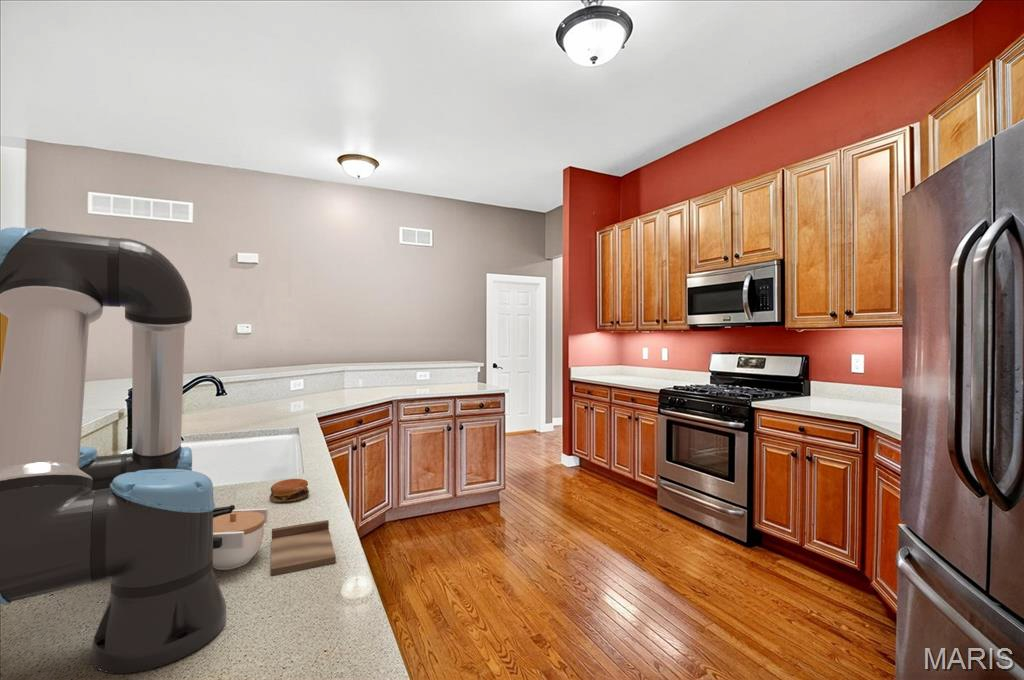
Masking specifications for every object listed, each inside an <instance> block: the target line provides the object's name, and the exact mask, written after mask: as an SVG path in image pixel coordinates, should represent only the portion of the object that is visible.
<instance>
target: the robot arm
mask: <svg viewBox="0 0 1024 680" xmlns="http://www.w3.org/2000/svg"><path fill="white" fill-rule="evenodd" d="M104 307H113V308H114V307H117V308H120V307H123V308H124V319H125V320H126V322H129V324H131V325H132V326H131V327H132V335H131V336H132V337H131V338H132V341H131V342H132V343H131V344H132V345H131V346H132V349H131V350H132V359H131V360H132V363H131V364H132V366H131V368H132V375H131V376H132V377H131V379H132V388H131V391H132V392H131V393H132V394H131V395H132V397H131V400H132V401H131V402H132V403H131V404H132V407H131V408H132V409H131V410H132V412H131V414H132V417H131V419H132V422H131V423H132V424H131V426H132V429H131V431H132V432H131V436H132V437H131V442H132V443H131V444H132V445H131V448H132V449H131V450H132V452H129V453H121V454H119V453H118V454H111V455H101V456H100V455H99V453H98V450H97V448H95V447H93V446H81V444H82V443H81V440H82V431H83V430H82V428H83V413H84V401H85V400H84V399H85V386H86V384H85V383H86V373H87V357H88V355H87V354H88V342H89V328H90V324H93V323H94V322H96V321H97V320H99V319H100V318H101V317H102V315H103V310H104ZM0 314H2V315H4V316H5V317H6V318H8V319H7V320H8V321H7V326H6V332H5V340H4V347H3V354H2V359H1V368H0V605H3V606H7V605H10V604H12V602H16V601H18V600H23V599H27V598H32V597H36V596H40V595H45V594H49V593H53V592H58V591H61V590H66V589H70V588H75V587H79V586H83V585H87V584H91V583H96V582H99V581H104V580H107V579H110V593H109V594H110V595H109V599H108V601H107V604H106V606H105V609H104V612H103V614H102V617H101V619H100V621H99V624H98V626H97V629H96V631H95V634H94V637H93V639H92V644H91V645H92V646H91V647H92V649H91V652H92V654H91V661H92V664H94V665H93V666H94V667H95V666H96V667H97V668H99V669H101V670H103V671H102V672H104V671H107V672H106V673H108V672H112V673H111V674H131V673H138V672H137V671H139V672H142V671H141V670H144V671H147V670H146V669H148V670H151V669H150V668H152V669H155V667H156V668H159V667H162V666H165V665H169V664H171V663H174V662H176V661H178V660H180V659H182V658H184V657H187V656H189V655H191V654H193V653H194V652H196V651H198V650H200V649H201V648H203V647H204V646H205V645H207V644H208V643H210V642H211V641H212V640H213V639H214V638H215V637H217V635H218V634H219V633H220V632H221V631H222V629H223V628H224V626H225V624H226V621H227V603H226V599H225V597H224V594H223V592H222V590H221V587H220V584H219V582H218V580H217V577H216V575H215V572H214V567H213V550H217V549H235V548H243V547H244V531H240V532H221V533H213V518H215V517H217V516H221V515H225V514H229V513H232V512H258V513H261V514H263V515H264V516H265V523H264V524H267V522H268V513H269V512H268V511H269V510H268V509H269V508H268V507H266V508H265V507H263V508H246V509H245V508H242V509H236V506H235V504H230V505H228V506H221V507H216V502H215V501H214V498H215V497H214V484H213V481H212V480H211V478H210V477H209V476H207V475H206V474H204V473H202V472H199V471H194V470H193V451H192V448H190V447H189V446H182V427H183V426H182V425H183V424H182V423H183V421H182V419H183V393H184V392H183V391H184V390H183V389H184V388H183V387H184V363H185V362H184V359H185V335H186V334H185V331H186V328H185V327H186V326H187V325H188V324H190V323H191V322H192V319H193V317H192V316H193V305H192V298H191V294H190V291H189V288H188V287H187V284H186V281H185V280H184V278H183V276H182V274H181V273H180V272H179V270H178V269H177V268H176V266H175V265H174V264H173V263H172V262H171V261H170V260H169V258H167V257H166V256H165V255H163V254H162V253H161V252H160V251H159V250H157V249H155V248H154V247H152V246H150V245H148V244H146V243H145V242H142V241H138V240H136V239H132V238H125V237H123V238H122V237H119V238H118V237H110V236H103V235H101V236H100V235H95V234H94V235H93V234H84V233H83V234H82V233H74V232H73V233H72V232H68V231H67V232H65V231H56V230H48V229H46V228H42V227H33V228H32V227H31V228H30V227H29V228H28V227H18V226H15V227H14V226H12V227H11V226H10V227H5V228H2V229H0ZM158 666H159V667H158ZM96 667H95V668H96ZM97 668H96V669H97ZM99 669H98V670H99ZM101 670H100V671H101Z"/></svg>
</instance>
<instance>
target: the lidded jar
mask: <svg viewBox="0 0 1024 680" xmlns="http://www.w3.org/2000/svg"><path fill="white" fill-rule="evenodd" d="M265 524H266V523H265V516H264V515H263V514H261V513H258V512H232V513H229V514H225V515H221V516H217V517H215V518H213V533H221V532H240V531H244V547H243V548H235V549H217V550H213V569H215V570H218V571H230V570H234V569H238V568H241V567H243V566H246V564H248V563H250V562H251V560H252V558H253V557H254V556H255V555H256V553H257V552H258V551H259V549H260V547H261V545H262V543H263V539H264V534H265V532H264V531H265Z"/></svg>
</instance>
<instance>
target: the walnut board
mask: <svg viewBox="0 0 1024 680" xmlns="http://www.w3.org/2000/svg"><path fill="white" fill-rule="evenodd" d="M329 523H330V521H329V520H328V519H327V520H320V521H314V522H313V521H312V522H308V523H300V524H294V525H287V526H281V527H276V528H271V545H270V546H271V548H270V550H271V551H270V552H271V553H270V576H271V577H273V576H277V575H282V574H286V573H291V572H296V571H302V570H307V569H312V568H316V567H317V566H318V567H321V566H322V565H323V566H326V565H325V564H328V565H331V564H330V563H333V564H335V563H334V562H336V558H337V557H336V553H335V548H334V544H333V542H332V541H333V540H332V536H331V534H330V530H329V529H330V528H329ZM336 563H337V562H336Z"/></svg>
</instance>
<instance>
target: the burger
mask: <svg viewBox="0 0 1024 680" xmlns="http://www.w3.org/2000/svg"><path fill="white" fill-rule="evenodd" d="M308 484H309V483H308V480H307V479H302V478H290V479H284V480H279V481H277V482H276V483H274V484H272V486H271V487H270V492H271V493H270V495H269V500H270V502H272V501H273V503H290V502H289V501H293V502H295V501H296V500H297V501H300V500H303V499H306V497H308V496H309V494H310V490H309V487H308V486H309V485H308ZM307 495H308V496H307ZM274 501H275V502H274ZM285 501H287V502H285Z"/></svg>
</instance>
